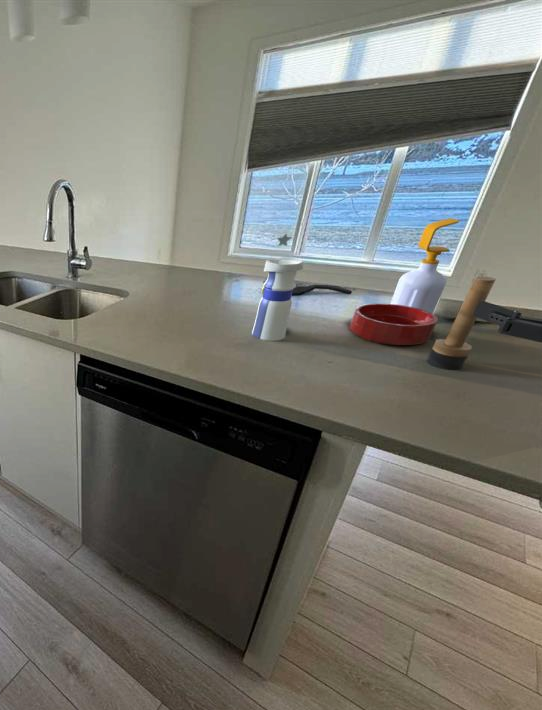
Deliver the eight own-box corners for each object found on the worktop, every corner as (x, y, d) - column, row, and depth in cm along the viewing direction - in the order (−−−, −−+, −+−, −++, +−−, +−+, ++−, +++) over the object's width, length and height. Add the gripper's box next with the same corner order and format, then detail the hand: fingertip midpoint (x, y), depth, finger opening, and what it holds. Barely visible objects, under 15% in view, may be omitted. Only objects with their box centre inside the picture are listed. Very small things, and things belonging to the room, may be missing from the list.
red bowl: (424, 328, 102) (433, 307, 99) (431, 352, 91) (441, 330, 89) (349, 319, 110) (355, 300, 107) (347, 341, 100) (355, 320, 97)
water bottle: (242, 331, 109) (260, 235, 97) (270, 326, 111) (291, 231, 98) (263, 343, 102) (286, 241, 90) (293, 337, 103) (319, 236, 91)
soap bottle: (437, 322, 104) (483, 222, 92) (395, 321, 107) (434, 223, 94) (419, 310, 112) (459, 215, 99) (380, 309, 114) (414, 217, 102)
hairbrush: (357, 288, 122) (265, 282, 130) (353, 300, 124) (262, 293, 132) (350, 281, 129) (263, 275, 137) (346, 292, 130) (260, 286, 139)
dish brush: (459, 360, 88) (501, 275, 78) (464, 371, 84) (510, 283, 74) (424, 356, 90) (462, 273, 81) (428, 366, 86) (468, 281, 77)
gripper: (568, 387, 57) (437, 329, 75) (756, 373, 56) (577, 318, 74) (600, 338, 53) (454, 290, 72) (803, 323, 52) (602, 278, 71)
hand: (516, 305), depth 73 cm, fingers open, 13 cm apart
